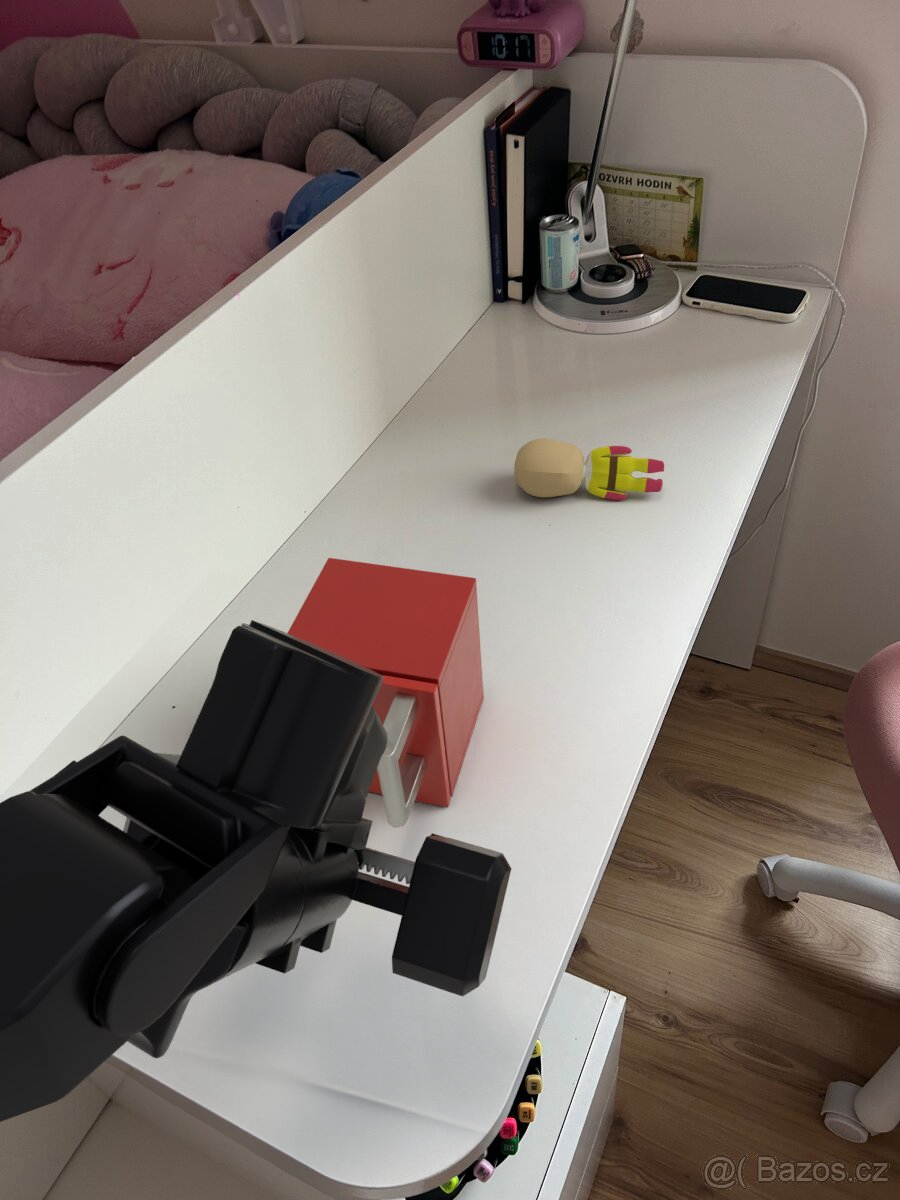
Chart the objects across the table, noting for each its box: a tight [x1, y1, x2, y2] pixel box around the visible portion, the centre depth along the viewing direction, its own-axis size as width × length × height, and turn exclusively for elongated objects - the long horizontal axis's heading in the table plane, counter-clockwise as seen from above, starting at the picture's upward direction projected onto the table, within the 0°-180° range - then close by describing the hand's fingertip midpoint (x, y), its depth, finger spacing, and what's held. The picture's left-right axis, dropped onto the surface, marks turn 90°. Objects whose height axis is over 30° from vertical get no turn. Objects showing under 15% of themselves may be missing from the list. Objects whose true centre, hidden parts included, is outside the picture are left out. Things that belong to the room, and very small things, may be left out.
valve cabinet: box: [287, 557, 485, 798], centre depth 70 cm, size 10×12×14 cm
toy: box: [513, 438, 665, 501], centre depth 94 cm, size 6×7×15 cm
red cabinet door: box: [368, 675, 452, 829], centre depth 64 cm, size 6×12×13 cm, turn 74°
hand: (363, 851), depth 52 cm, fingers open, 9 cm apart
